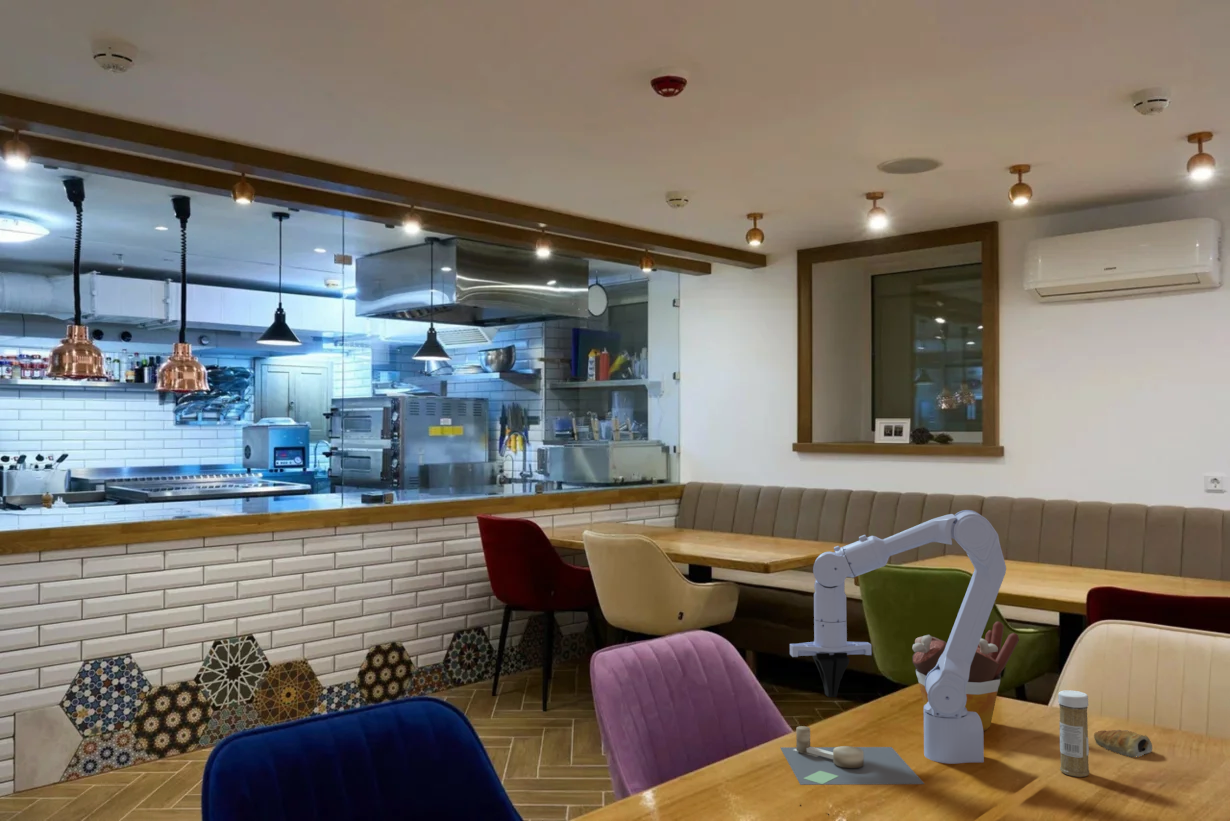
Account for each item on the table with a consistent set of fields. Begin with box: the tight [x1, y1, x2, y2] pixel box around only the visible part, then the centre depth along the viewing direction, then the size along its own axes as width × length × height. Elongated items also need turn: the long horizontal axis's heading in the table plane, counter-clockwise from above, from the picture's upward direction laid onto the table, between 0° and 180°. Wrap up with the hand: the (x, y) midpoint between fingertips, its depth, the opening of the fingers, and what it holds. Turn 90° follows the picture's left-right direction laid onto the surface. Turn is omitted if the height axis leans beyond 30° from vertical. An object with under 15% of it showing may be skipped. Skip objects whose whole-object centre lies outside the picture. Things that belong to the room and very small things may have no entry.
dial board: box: [780, 746, 925, 786], centre depth 161 cm, size 20×18×1 cm
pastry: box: [1093, 729, 1153, 758], centre depth 173 cm, size 9×7×4 cm
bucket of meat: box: [911, 621, 1020, 732], centre depth 187 cm, size 20×16×20 cm
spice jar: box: [1057, 689, 1090, 778], centre depth 160 cm, size 5×5×14 cm
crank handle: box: [795, 725, 864, 768], centre depth 164 cm, size 13×5×4 cm, turn 45°
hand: (830, 695), depth 170 cm, fingers closed
